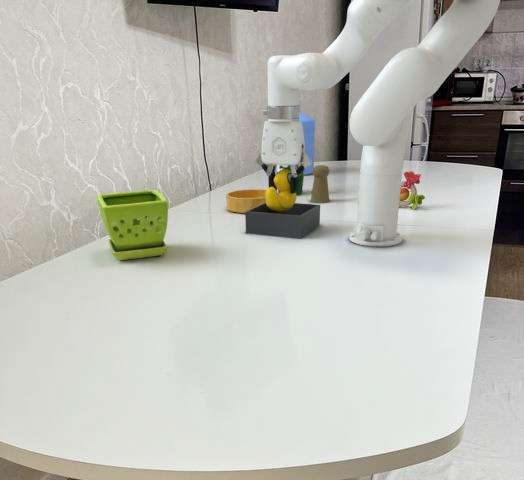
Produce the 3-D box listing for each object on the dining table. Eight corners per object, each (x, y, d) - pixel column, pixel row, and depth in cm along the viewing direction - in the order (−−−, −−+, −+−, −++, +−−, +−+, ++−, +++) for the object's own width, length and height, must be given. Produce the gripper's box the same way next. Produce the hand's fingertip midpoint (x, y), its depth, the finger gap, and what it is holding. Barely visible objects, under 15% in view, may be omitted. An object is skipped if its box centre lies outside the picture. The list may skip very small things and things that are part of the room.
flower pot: (104, 248, 125) (95, 193, 119) (162, 242, 129) (157, 189, 123) (111, 265, 113) (101, 205, 107) (174, 257, 117) (169, 199, 112)
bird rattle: (396, 216, 158) (425, 206, 153) (384, 180, 155) (414, 168, 150) (400, 212, 163) (429, 202, 158) (389, 177, 160) (418, 166, 155)
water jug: (320, 171, 225) (322, 99, 212) (302, 177, 213) (304, 101, 201) (288, 169, 233) (288, 99, 220) (270, 174, 221) (269, 101, 208)
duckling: (292, 205, 141) (290, 166, 137) (306, 207, 138) (305, 167, 133) (261, 213, 135) (258, 172, 130) (275, 215, 131) (273, 173, 127)
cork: (307, 202, 169) (308, 166, 164) (315, 198, 174) (315, 163, 169) (325, 203, 166) (326, 167, 161) (332, 200, 171) (333, 164, 166)
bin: (300, 238, 130) (301, 216, 127) (245, 233, 135) (245, 211, 133) (319, 225, 141) (320, 204, 139) (268, 221, 147) (267, 201, 144)
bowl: (263, 215, 153) (263, 200, 150) (218, 212, 158) (217, 196, 156) (283, 205, 165) (283, 190, 163) (240, 202, 171) (240, 188, 169)
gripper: (244, 115, 126) (247, 192, 134) (311, 115, 119) (309, 197, 128) (258, 113, 132) (259, 187, 140) (322, 113, 125) (319, 191, 134)
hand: (283, 191), depth 134 cm, fingers closed on duckling, 5 cm apart
